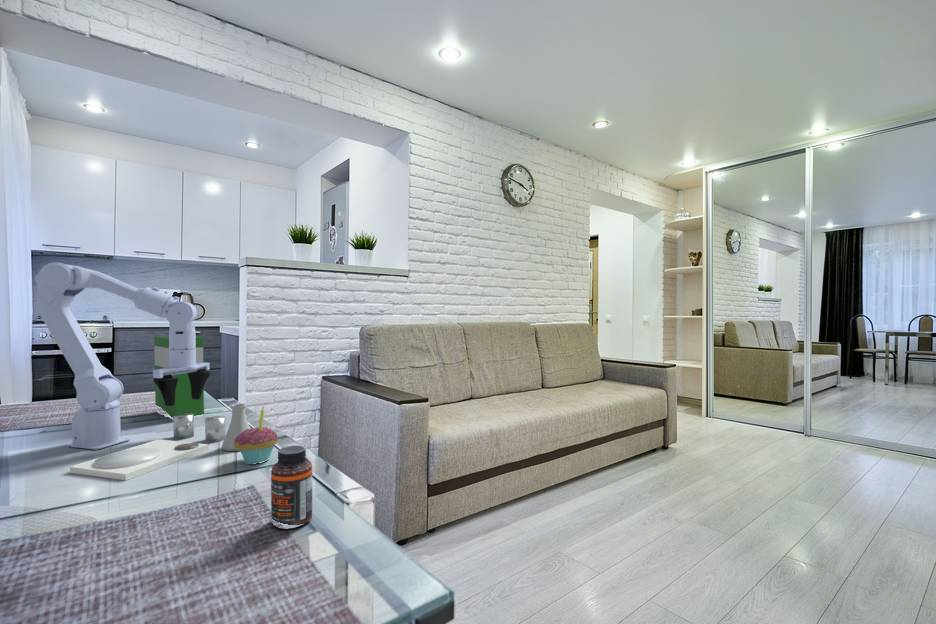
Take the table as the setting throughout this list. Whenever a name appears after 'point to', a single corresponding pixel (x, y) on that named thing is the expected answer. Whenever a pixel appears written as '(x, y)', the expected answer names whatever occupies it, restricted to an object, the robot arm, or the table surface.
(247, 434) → the cupcake
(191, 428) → the cylinder
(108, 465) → the scale
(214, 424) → the cylinder
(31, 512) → the table surface
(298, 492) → the supplement bottle
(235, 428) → the flask
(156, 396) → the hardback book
